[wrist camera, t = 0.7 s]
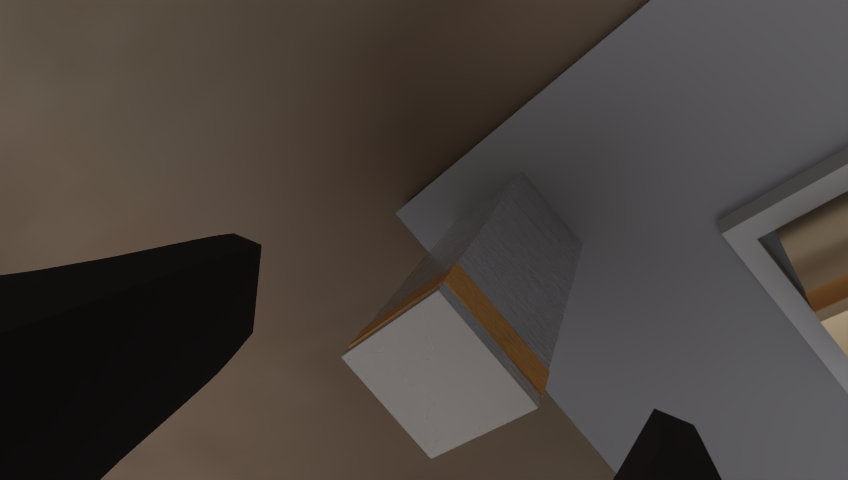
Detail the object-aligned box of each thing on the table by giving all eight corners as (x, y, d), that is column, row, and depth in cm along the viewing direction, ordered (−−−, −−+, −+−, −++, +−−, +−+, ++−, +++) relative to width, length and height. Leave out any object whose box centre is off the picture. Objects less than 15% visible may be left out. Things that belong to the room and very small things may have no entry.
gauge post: (583, 244, 18) (539, 408, 11) (510, 291, 19) (431, 459, 12) (522, 169, 17) (437, 289, 11) (452, 223, 19) (339, 356, 12)
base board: (1279, 343, 14) (1369, 394, 12) (674, 521, 22) (676, 567, 20) (895, -206, 12) (935, -237, 11) (406, 204, 20) (383, 224, 19)
